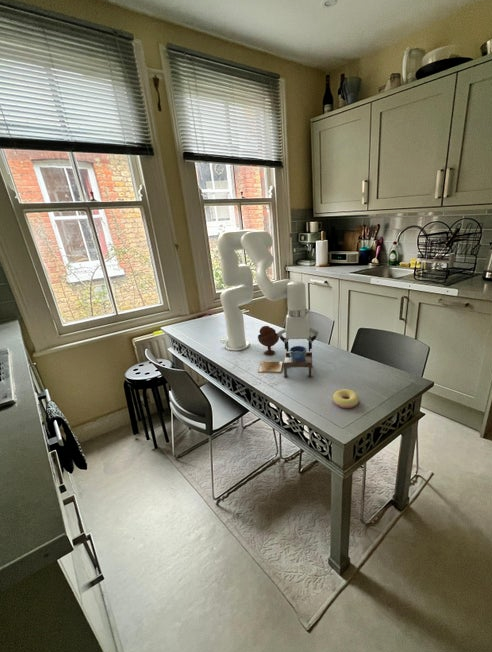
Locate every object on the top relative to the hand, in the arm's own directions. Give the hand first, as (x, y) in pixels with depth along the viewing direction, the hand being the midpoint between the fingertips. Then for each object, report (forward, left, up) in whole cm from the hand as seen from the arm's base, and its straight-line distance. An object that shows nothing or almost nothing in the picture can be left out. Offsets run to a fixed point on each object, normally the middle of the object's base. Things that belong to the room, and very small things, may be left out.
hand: (298, 350), depth 137 cm
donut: (+19, -24, -11) cm, 32 cm away
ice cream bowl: (-16, +20, -11) cm, 28 cm away
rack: (0, 0, -11) cm, 11 cm away
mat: (-13, +4, -11) cm, 17 cm away
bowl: (0, 0, -5) cm, 5 cm away
